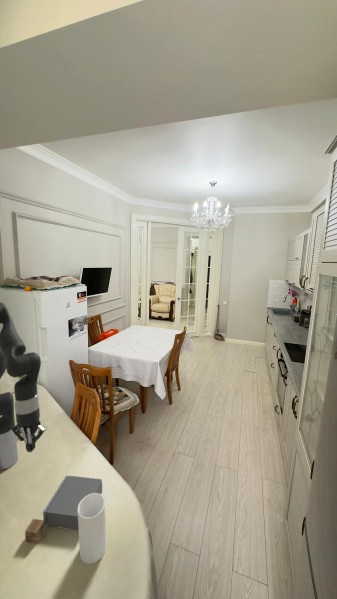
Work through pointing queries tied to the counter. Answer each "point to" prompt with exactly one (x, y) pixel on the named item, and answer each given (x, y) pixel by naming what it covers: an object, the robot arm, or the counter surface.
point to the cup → (92, 527)
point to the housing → (71, 501)
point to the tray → (52, 500)
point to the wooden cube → (34, 531)
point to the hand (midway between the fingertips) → (31, 450)
